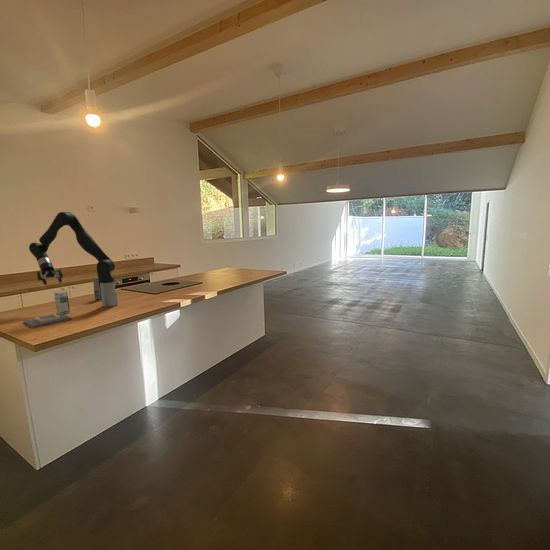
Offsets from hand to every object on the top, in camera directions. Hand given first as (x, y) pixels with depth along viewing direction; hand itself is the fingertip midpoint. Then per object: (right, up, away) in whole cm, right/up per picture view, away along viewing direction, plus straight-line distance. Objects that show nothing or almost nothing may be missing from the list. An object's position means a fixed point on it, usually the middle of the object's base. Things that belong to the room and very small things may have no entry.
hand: (53, 283), depth 221 cm
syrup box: (+10, -20, -5) cm, 23 cm away
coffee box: (+13, -14, +39) cm, 43 cm away
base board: (+13, -23, -23) cm, 35 cm away
